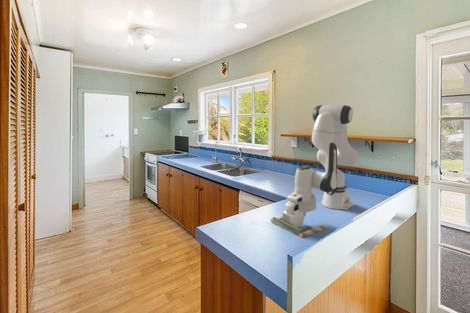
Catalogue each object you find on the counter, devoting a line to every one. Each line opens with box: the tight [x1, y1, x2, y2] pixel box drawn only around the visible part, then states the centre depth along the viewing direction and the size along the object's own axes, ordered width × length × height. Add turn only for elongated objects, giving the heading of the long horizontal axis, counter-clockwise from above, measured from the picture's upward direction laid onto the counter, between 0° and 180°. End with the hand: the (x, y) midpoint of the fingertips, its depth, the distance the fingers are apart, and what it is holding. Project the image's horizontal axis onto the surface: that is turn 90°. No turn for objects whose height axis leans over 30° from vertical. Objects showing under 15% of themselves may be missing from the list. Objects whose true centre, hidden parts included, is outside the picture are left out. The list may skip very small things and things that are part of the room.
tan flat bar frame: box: [270, 215, 328, 238], centre depth 132 cm, size 20×22×3 cm
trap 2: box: [301, 226, 314, 233], centre depth 125 cm, size 10×3×1 cm, turn 124°
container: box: [282, 202, 305, 228], centre depth 129 cm, size 8×8×13 cm
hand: (301, 220), depth 133 cm, fingers closed
